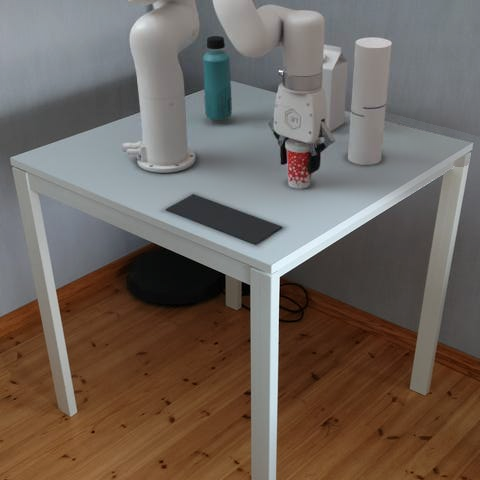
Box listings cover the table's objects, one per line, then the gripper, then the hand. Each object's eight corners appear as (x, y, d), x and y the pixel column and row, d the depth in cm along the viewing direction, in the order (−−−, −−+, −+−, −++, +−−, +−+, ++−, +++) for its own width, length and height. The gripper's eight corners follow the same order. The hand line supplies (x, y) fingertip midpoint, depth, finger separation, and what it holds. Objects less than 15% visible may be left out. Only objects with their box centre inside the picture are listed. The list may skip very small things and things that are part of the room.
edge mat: (165, 210, 154) (165, 208, 154) (193, 195, 159) (193, 193, 159) (255, 245, 142) (255, 243, 142) (282, 227, 147) (282, 226, 147)
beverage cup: (317, 188, 160) (320, 123, 153) (287, 191, 160) (289, 125, 152) (310, 176, 165) (312, 111, 158) (281, 178, 165) (282, 114, 157)
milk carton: (318, 117, 193) (322, 38, 182) (344, 123, 189) (349, 43, 179) (303, 127, 188) (305, 46, 177) (329, 133, 184) (333, 51, 174)
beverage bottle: (232, 125, 189) (230, 41, 178) (204, 126, 189) (200, 41, 178) (232, 115, 194) (230, 33, 183) (205, 115, 195) (202, 33, 184)
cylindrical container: (379, 166, 169) (390, 48, 155) (346, 163, 170) (354, 47, 156) (381, 152, 175) (392, 38, 161) (349, 150, 176) (357, 36, 162)
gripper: (254, 75, 153) (254, 162, 163) (329, 94, 144) (324, 185, 153) (278, 66, 158) (277, 150, 168) (351, 83, 148) (345, 172, 158)
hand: (299, 166), depth 160 cm, fingers closed on beverage cup, 6 cm apart
